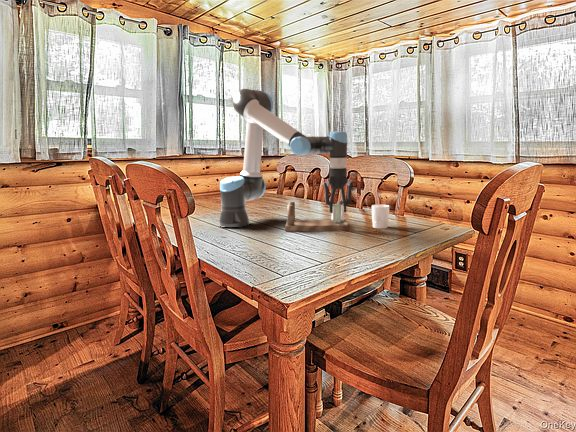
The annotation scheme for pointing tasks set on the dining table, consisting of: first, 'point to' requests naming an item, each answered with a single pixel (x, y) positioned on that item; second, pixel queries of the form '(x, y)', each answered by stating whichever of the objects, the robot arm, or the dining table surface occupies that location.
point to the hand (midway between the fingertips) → (337, 219)
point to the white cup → (380, 216)
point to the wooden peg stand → (312, 222)
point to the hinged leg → (337, 213)
